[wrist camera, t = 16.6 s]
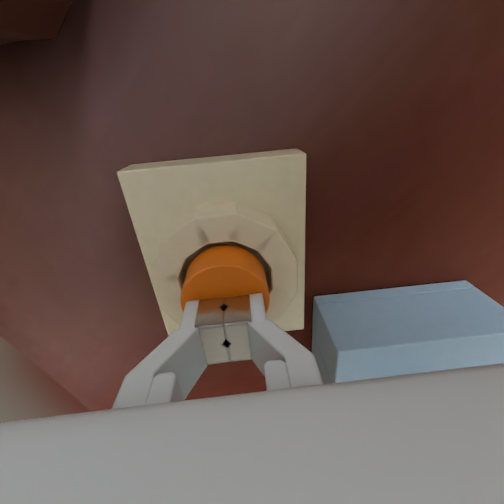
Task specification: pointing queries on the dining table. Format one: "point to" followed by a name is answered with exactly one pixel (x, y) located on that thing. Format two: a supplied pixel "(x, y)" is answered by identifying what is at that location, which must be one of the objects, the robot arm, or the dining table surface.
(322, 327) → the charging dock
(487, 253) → the dining table surface
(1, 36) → the muffin
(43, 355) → the dining table surface
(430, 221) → the dining table surface
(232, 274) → the orange button
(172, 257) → the button box
